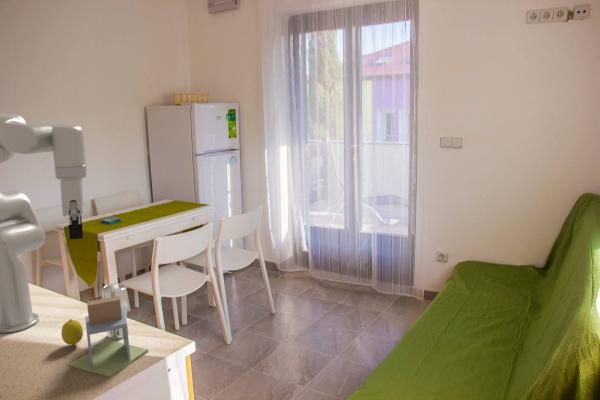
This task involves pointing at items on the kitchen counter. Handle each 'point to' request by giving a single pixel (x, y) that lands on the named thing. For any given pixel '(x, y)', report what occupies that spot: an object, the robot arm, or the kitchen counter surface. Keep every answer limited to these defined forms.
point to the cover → (106, 320)
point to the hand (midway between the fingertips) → (76, 233)
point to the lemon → (72, 332)
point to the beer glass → (120, 291)
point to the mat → (109, 358)
